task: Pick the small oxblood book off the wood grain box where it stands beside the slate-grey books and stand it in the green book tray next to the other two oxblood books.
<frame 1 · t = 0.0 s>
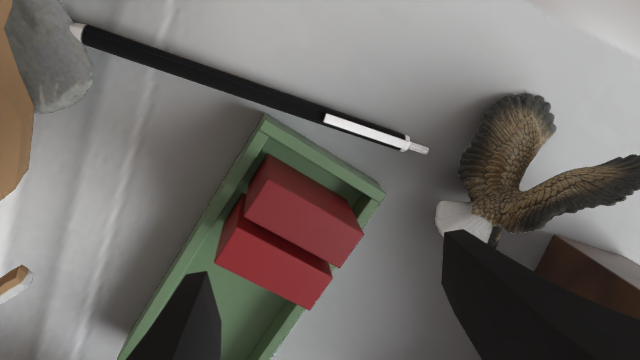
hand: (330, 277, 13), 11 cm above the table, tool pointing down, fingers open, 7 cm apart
wood grain box: (532, 349, 28), on the table
green book tray: (250, 259, 24), on the table
eagle figurine: (493, 174, 24), on the table
rack books: (287, 227, 20), in the green book tray, point 3 cm above the table
pen: (254, 90, 21), on the table
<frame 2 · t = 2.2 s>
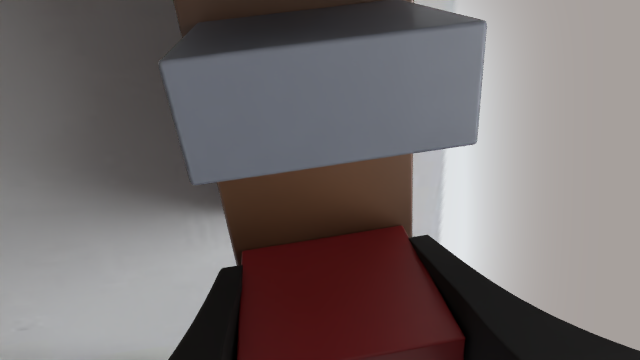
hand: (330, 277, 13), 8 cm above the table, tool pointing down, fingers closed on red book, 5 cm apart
wood grain box: (287, 33, 17), on the table
red book: (326, 262, 13), point 7 cm above the table, touching gripper, wood grain box
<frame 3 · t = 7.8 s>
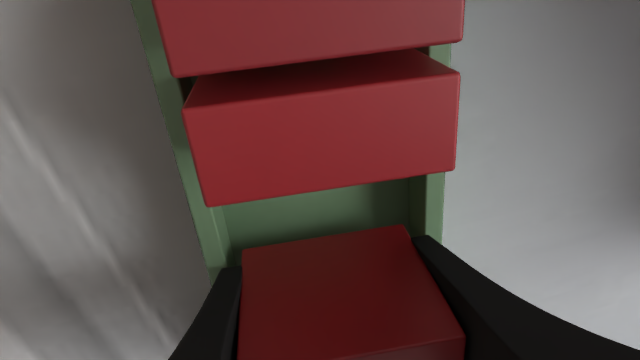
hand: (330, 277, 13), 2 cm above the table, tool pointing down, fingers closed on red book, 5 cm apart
green book tray: (311, 155, 13), on the table
red book: (326, 261, 13), point 2 cm above the table, touching gripper
rack books: (308, 51, 9), in the green book tray, point 3 cm above the table
when the fingers open (2 cm above the table, at t = 9.7 s): red book stays where it is, resting on green book tray.
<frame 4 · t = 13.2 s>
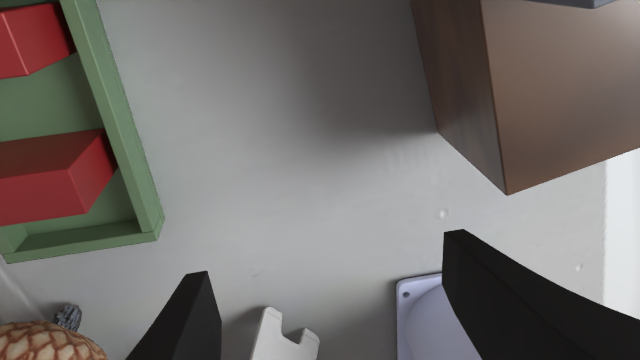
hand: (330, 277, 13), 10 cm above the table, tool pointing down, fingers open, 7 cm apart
tablet stand: (254, 352, 28), on the table, touching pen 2
green book tray: (39, 89, 19), on the table
red book: (58, 154, 20), point 1 cm above the table, touching green book tray
acorn: (73, 309, 25), on the table
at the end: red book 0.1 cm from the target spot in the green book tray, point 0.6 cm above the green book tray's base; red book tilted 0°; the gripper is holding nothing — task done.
